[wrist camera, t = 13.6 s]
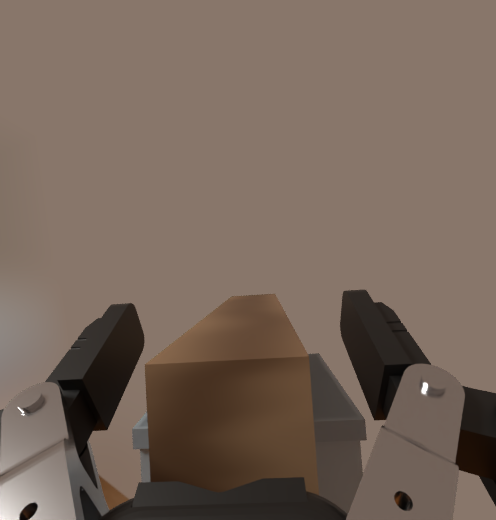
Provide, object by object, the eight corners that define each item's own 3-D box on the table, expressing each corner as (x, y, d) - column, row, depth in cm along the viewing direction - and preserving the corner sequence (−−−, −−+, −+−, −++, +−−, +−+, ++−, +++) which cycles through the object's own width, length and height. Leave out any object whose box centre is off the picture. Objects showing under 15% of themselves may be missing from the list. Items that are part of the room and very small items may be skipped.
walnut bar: (153, 533, 7) (144, 364, 7) (234, 339, 27) (231, 296, 27) (321, 530, 7) (308, 356, 7) (277, 337, 27) (274, 293, 27)
